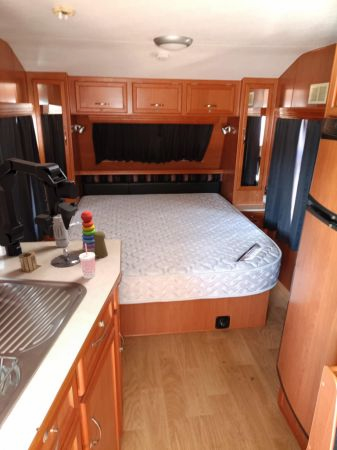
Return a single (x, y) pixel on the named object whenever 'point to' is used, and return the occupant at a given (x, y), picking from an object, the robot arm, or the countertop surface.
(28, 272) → the stand
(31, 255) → the tan hollow faceted cylinder
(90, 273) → the beverage cup
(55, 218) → the energy drink can
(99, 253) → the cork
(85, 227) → the stacking toy
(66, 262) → the disc
